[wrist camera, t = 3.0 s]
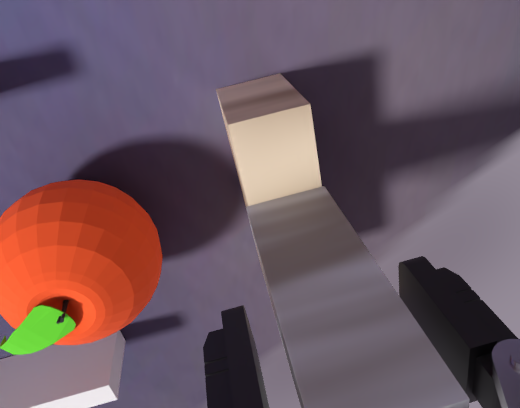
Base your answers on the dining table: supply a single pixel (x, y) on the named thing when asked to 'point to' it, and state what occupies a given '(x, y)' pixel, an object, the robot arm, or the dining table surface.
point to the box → (63, 375)
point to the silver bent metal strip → (324, 267)
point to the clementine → (74, 264)
